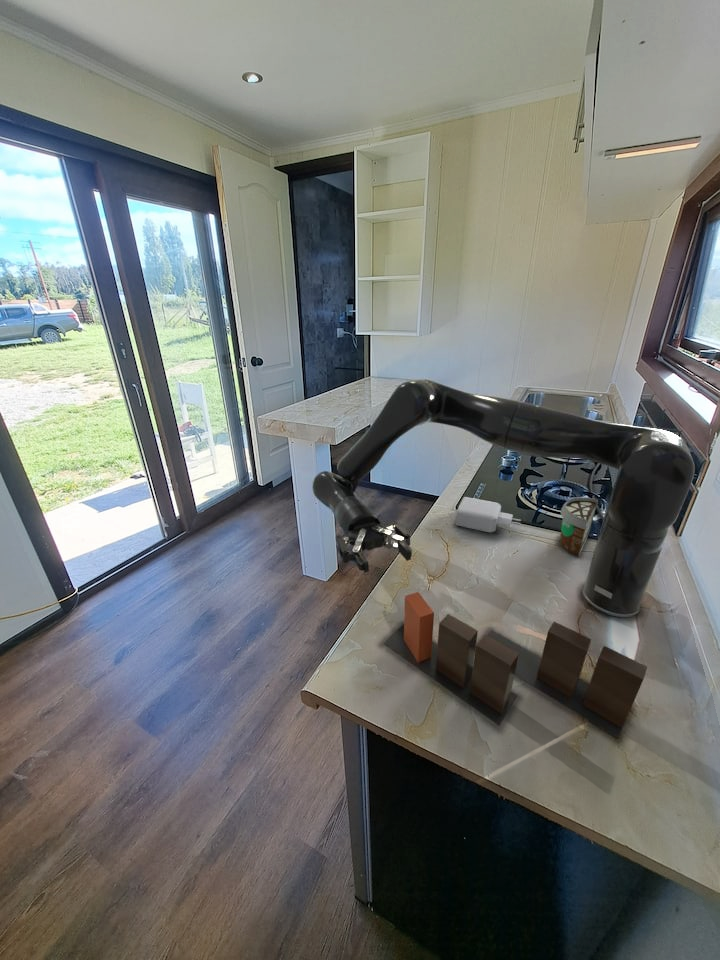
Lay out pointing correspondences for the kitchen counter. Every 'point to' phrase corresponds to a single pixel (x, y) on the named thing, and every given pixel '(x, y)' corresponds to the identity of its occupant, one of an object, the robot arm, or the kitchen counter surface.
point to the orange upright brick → (418, 626)
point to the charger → (482, 515)
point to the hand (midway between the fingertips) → (388, 562)
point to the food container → (576, 523)
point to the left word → (467, 666)
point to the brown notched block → (561, 671)
